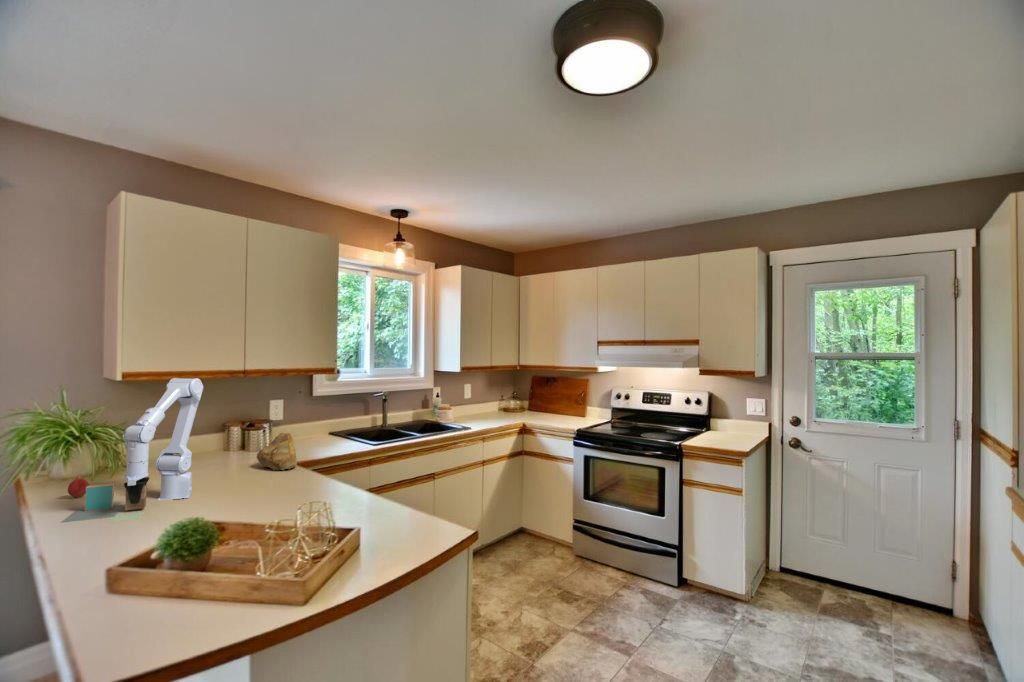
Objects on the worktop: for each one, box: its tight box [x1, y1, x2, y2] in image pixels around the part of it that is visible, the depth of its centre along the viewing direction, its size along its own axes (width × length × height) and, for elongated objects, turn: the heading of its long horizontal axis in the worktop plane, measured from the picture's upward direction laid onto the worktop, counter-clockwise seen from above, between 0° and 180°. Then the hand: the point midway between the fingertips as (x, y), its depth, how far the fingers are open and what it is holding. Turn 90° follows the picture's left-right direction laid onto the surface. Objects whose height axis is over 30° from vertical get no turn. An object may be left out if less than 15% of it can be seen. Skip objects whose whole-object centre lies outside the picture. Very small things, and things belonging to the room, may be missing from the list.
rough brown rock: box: [256, 432, 298, 471], centre depth 224 cm, size 23×17×15 cm
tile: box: [84, 483, 115, 511], centre depth 158 cm, size 7×2×8 cm, turn 117°
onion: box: [67, 475, 90, 499], centre depth 171 cm, size 6×6×8 cm
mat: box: [60, 504, 125, 523], centre depth 155 cm, size 13×14×1 cm
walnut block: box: [124, 484, 147, 511], centre depth 158 cm, size 5×3×7 cm, turn 117°
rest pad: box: [107, 511, 145, 523], centre depth 152 cm, size 8×7×1 cm
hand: (136, 501), depth 158 cm, fingers closed on walnut block, 3 cm apart
